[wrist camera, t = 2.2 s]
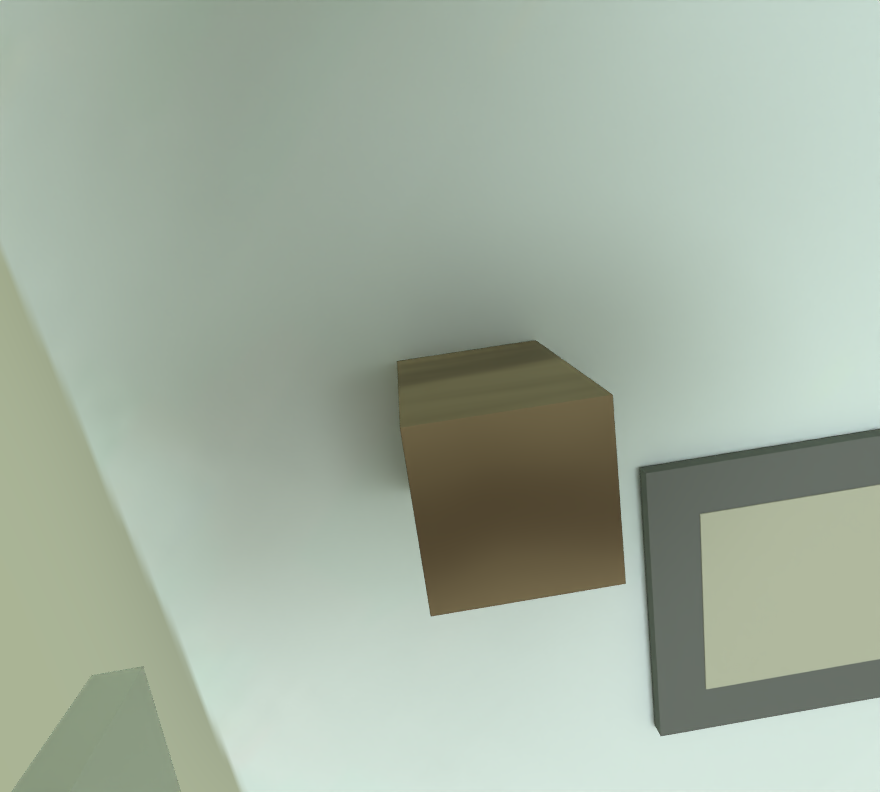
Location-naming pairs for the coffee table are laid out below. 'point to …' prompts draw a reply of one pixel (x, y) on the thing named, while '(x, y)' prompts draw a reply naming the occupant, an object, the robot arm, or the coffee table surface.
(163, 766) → the robot arm
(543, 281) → the coffee table surface
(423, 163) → the coffee table surface
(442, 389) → the walnut block
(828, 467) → the mat
